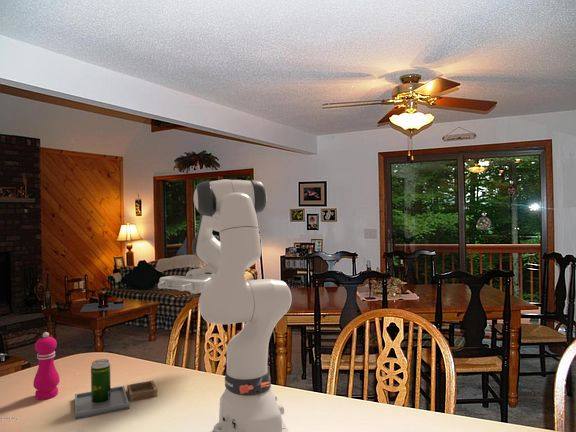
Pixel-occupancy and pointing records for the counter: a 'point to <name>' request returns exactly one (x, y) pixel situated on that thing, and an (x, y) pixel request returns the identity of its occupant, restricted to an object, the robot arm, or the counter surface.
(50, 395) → the pepper mill
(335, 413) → the counter surface
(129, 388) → the can holder
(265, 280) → the robot arm
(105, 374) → the beer can
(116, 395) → the tray
